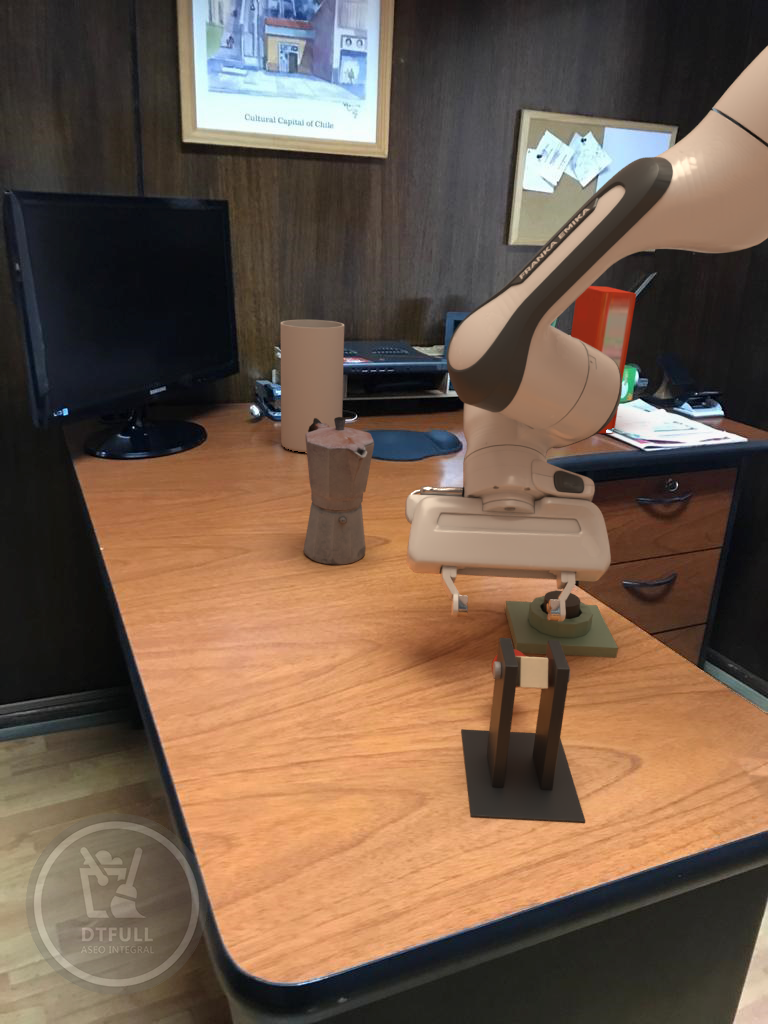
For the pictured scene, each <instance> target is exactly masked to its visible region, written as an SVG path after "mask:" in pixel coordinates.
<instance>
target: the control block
mask: <svg viewBox="0 0 768 1024" xmlns="http://www.w3.org/2000/svg"><path fill="white" fill-rule="evenodd" d="M544 597H545V595H542V596H538V597H535V598H534V599H533V600H532V601H516V600H505V605H504V612H505V616H506V619H507V623H508V627H509V631H510V635H511V640H512V644H513V648H514V649H515V650H518V651H520V652H522V653H523V654H537V655H538V654H541V655H546V650H547V642H548V640H556V641H560V644H561V646H562V649H563V652H564V654H565V656H578V657H579V656H580V657H598V658H618V657H617V656H618V650H619V647H618V645H617V643H616V641H615V639H614V637H613V635H612V632H611V631H610V629H609V627H608V625H607V623H606V621H605V619H604V617H603V615H602V613H601V611H600V609H599V607H598V605H596V604H585V603H583V602H582V601H581V600H580V608H579V615H578V617H576V618H572V619H564V621H548V620H547V615H548V614H546V613H545V612H543V604H544Z"/></svg>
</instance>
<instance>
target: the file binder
mask: <svg viewBox="0 0 768 1024" xmlns="http://www.w3.org/2000/svg"><path fill="white" fill-rule="evenodd" d="M636 299H637V293H635V292H631V291H627V290H623V289H618V288H614V287H610V286H599V285H598V286H597V285H590V286H589V287H588V288H587V289H586V290H585V291H584V292H583V293H582V294H581V295H580V296H579V297H578V298H577V299H576V300H575V301H574V303H575V304H574V310H573V317H572V318H573V319H572V326H571V333H570V336H571V337H573V338H577V339H579V340H581V341H583V342H584V343H586V344H588V345H590V346H592V347H594V348H595V349H597V350H599V351H601V352H602V353H604V354H605V355H607V356H608V357H610V358H612V359H613V360H614V361H615V362H616V363H617V365H618V367H619V369H620V373H621V378H622V381H623V379H624V372H625V368H626V367H625V366H626V360H627V354H628V348H629V341H630V336H631V330H632V324H633V317H634V310H635V306H636ZM618 409H619V408H618ZM618 409H617V411H616V413H615V415H614V417H613V418H612V420H611V421H610V423H609V424H608V425H607V426H606V427H605V428H604V429H603V430H601V431H600V432H599V433H598V434H607V433H606V430H607V429H612V428H616V423H617V417H618V416H617V415H618Z"/></svg>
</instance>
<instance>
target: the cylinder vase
mask: <svg viewBox="0 0 768 1024" xmlns="http://www.w3.org/2000/svg"><path fill="white" fill-rule="evenodd" d="M344 353H345V324H344V323H342V322H338V321H334V320H325V319H324V320H323V319H290V320H283V321H280V443H281V445H282V447H283V448H284V447H285V449H286V450H288V449H289V450H288V451H290V450H292V451H291V452H294V451H298V452H307V449H306V438H305V434H306V433H308V430H309V427H310V426H311V425H312V424H313V420H314V418H317V419H319V421H320V422H321V423H326V424H328V425H329V426H330V427H335V421H334V419H335V418H337V417H343V401H344V399H343V397H344V391H343V390H344V361H345V360H344ZM298 452H297V453H298Z"/></svg>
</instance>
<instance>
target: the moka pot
mask: <svg viewBox="0 0 768 1024" xmlns="http://www.w3.org/2000/svg"><path fill="white" fill-rule="evenodd" d="M346 420H347V419H346V418H345V417H344V416H342V417H337V418H335V419H334V421H335V427H330V426H329V425H328V424H326V423H321V422H320V421H319V419H317V418H314V420H313V424H312V425H311V426H310V427H309V430H308V433H306V434H305V438H306V449H307V453H306V455H307V456H306V458H307V469H308V479H309V486H310V491H311V492H310V496H311V497H310V501H311V503H310V510H309V515H308V521H307V527H306V528H307V529H306V533H305V538H304V545H303V553H304V554H305V556H306V557H308V559H310V560H312V561H314V562H317V563H320V564H323V565H331V566H334V565H335V566H336V565H337V566H342V565H349V564H352V563H356V562H358V561H359V560H361V559H363V557H365V555H366V541H365V540H366V539H365V527H364V517H363V516H364V515H363V505H362V504H363V499H364V493H366V490H367V487H368V480H369V475H370V469H371V462H372V458H373V454H374V447H375V441H374V438H373V437H372V433H370V432H367V431H364V430H360V429H357V428H353V427H345V425H346Z"/></svg>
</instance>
